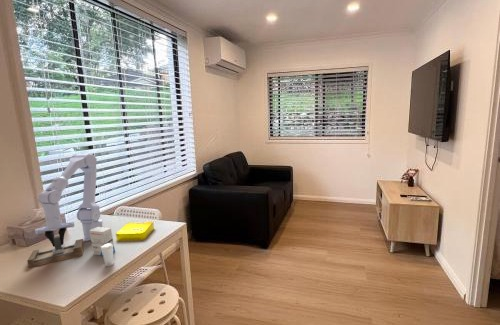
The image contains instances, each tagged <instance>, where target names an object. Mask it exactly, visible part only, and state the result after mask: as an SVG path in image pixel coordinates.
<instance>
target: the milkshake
mask: <svg viewBox="0 0 500 325" xmlns="http://www.w3.org/2000/svg"><path fill="white" fill-rule="evenodd" d="M98 244H99V243H98ZM99 245H100V244H99ZM100 247H101V245H100ZM101 251H102V254H103V255H102V258H103V262H104V266H105V267H112V266H114V263H115V261H114V252H113V245H112V244H111V243H107V244H104V245H103V246H102V247H101Z"/></svg>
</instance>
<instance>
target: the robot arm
mask: <svg viewBox="0 0 500 325" xmlns="http://www.w3.org/2000/svg"><path fill="white" fill-rule="evenodd" d="M78 170H81V171H82V172H83V173H84V175H83V176H84V178H83V193H82V203H81V204H80V205H79V206H78V210H77V212H76V218H77V220H78V221H80V223H81V226H82V232H83V238H82V239H83V242H88V241H91V238H90V233H89V231H90V230H92V229H94V228H96V227H104V223H103V219H102V218H101V211H100V205H98V204H97V203H96V188H97V171H98V170H97V158H96V156H95V155H94V154H93V153H74V154H73V155H72V156H71V157H70V158H69V163H68V165H67V166H66V168H65V169H64V170H63V172H62V173H61V175H60V176H56V177H54V178H53V179H52V182H50V184H49V185H48V187H47V188H46V189H45V190H43V191H42V192H40V193H39V195H38V198H37V201H38V202H39V204H41V207H42V208H43V209H42V210H43V213H44V218H45V224H46V226H42V227H38V228H35V229H34V232H35V233H34V234H35V235H39V234H41V233H42V234H43V233H44V236H45V237H46V238H47V239H48V240H49V242H50V243H51V245H52V246H53V248H54V247H55V244H54V240H53V238H54V237H55V234H54V233H55V232H54V231H58V232H57V233H58V236H60V241H61V245H63V244H65V243H64V239H65V234H66V230H67V229H69V228H75V222H74V221H71V222H70V221H69V222H63V221H62V214H61V210H60V204H59V202H60V201H61V198H62V193H63V192H64V191H65V189H66V188H67V186H69V179H70V178H71V177H72V176H73V175H74V174H75V173H76V172H77V171H78ZM100 218H101V219H100Z"/></svg>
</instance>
